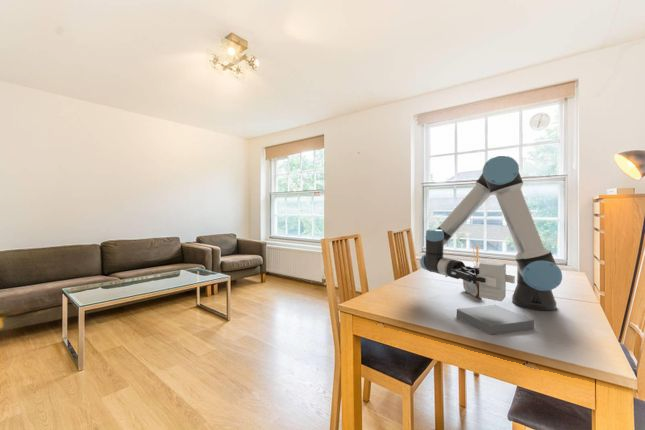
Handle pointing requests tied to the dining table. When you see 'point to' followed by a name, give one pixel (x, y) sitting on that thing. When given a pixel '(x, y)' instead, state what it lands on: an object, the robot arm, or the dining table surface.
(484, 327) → the gray board
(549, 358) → the dining table surface
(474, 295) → the tin
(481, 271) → the supplement box
